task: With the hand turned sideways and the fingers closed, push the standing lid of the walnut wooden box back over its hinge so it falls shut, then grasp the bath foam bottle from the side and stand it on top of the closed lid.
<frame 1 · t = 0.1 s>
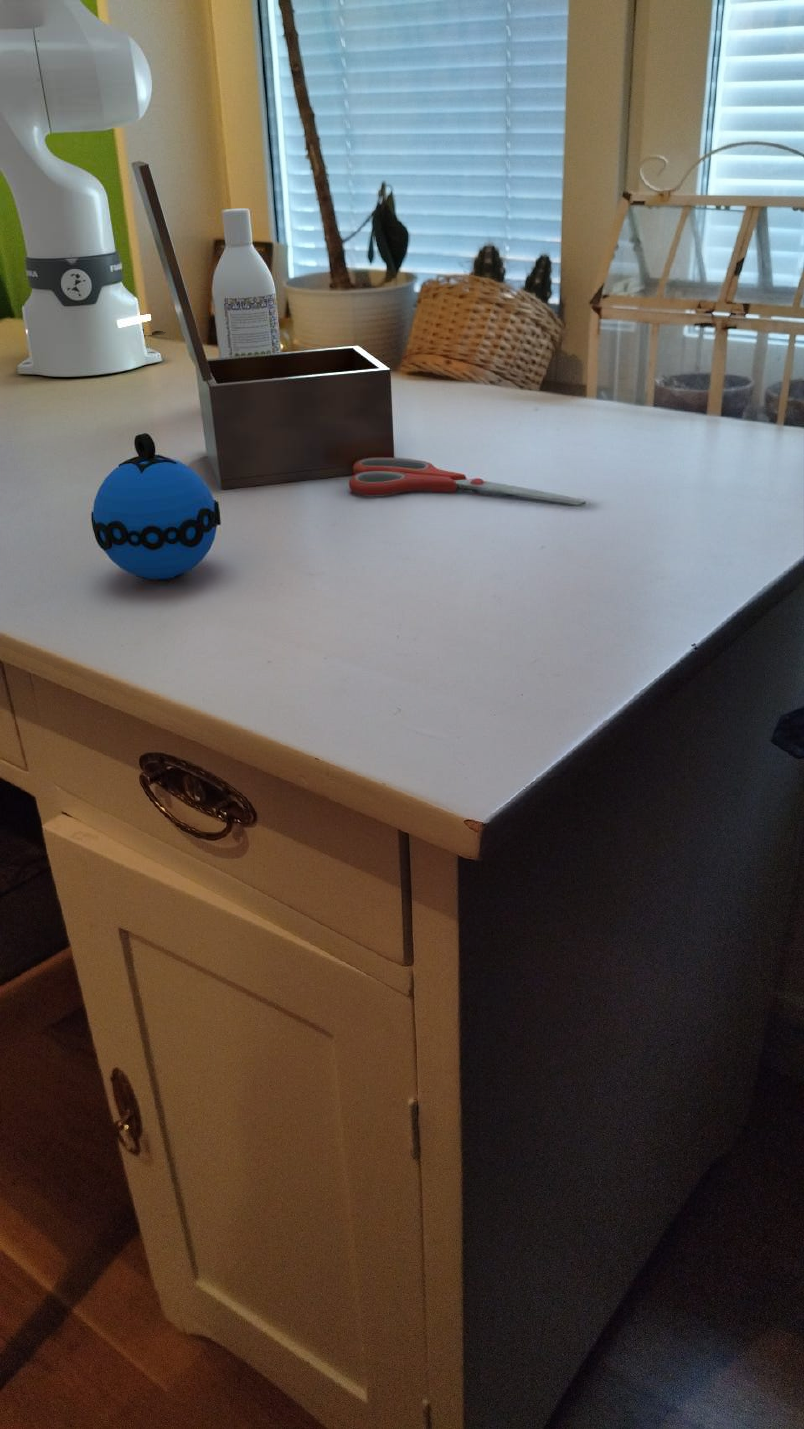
ornament: (165, 579, 77), on the table
scissors: (466, 490, 93), on the table
bath foam: (255, 402, 127), on the table
lid: (171, 269, 92), point 17 cm above the table, hinge at 100.0°
chest: (297, 461, 102), on the table
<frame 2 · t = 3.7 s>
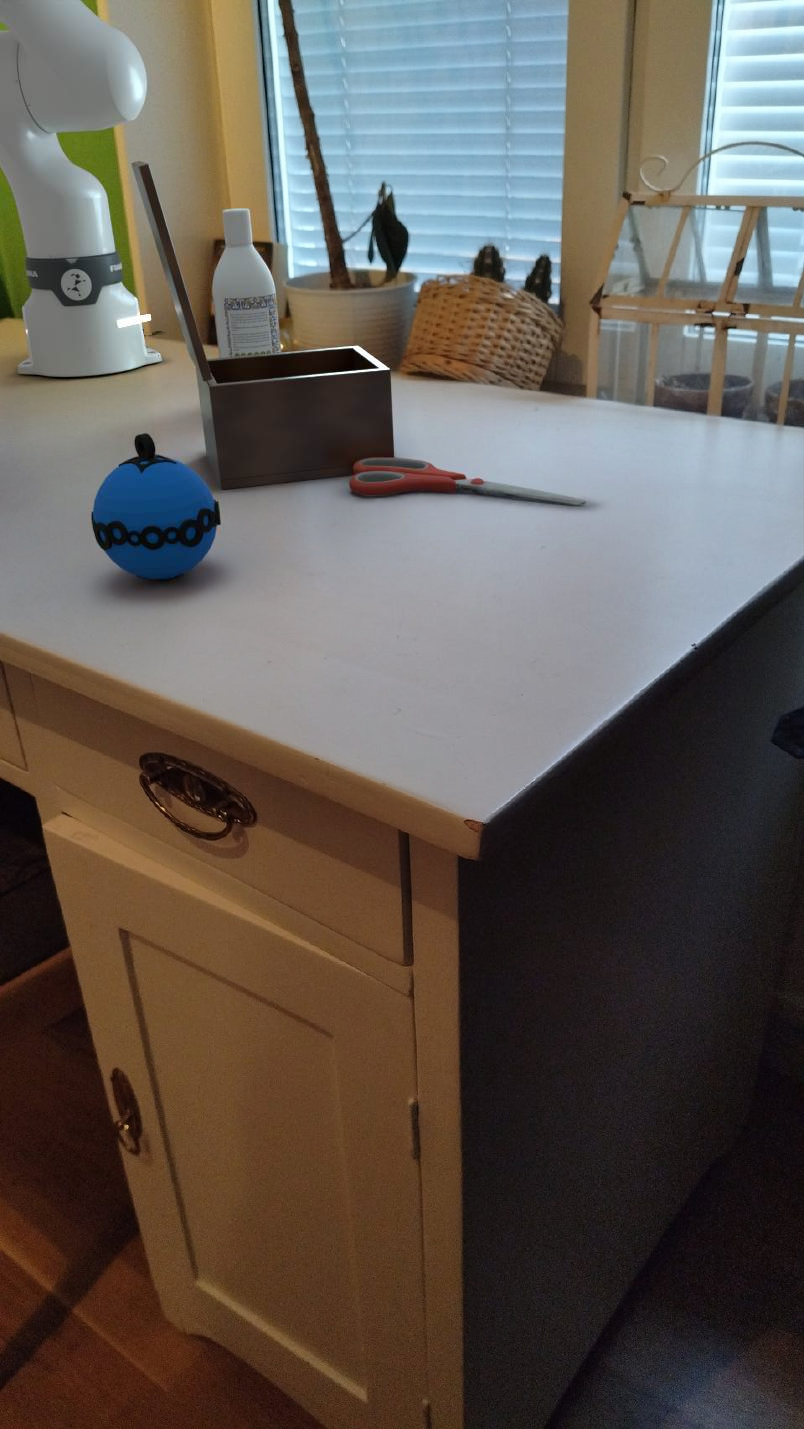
nothing on the table moved.
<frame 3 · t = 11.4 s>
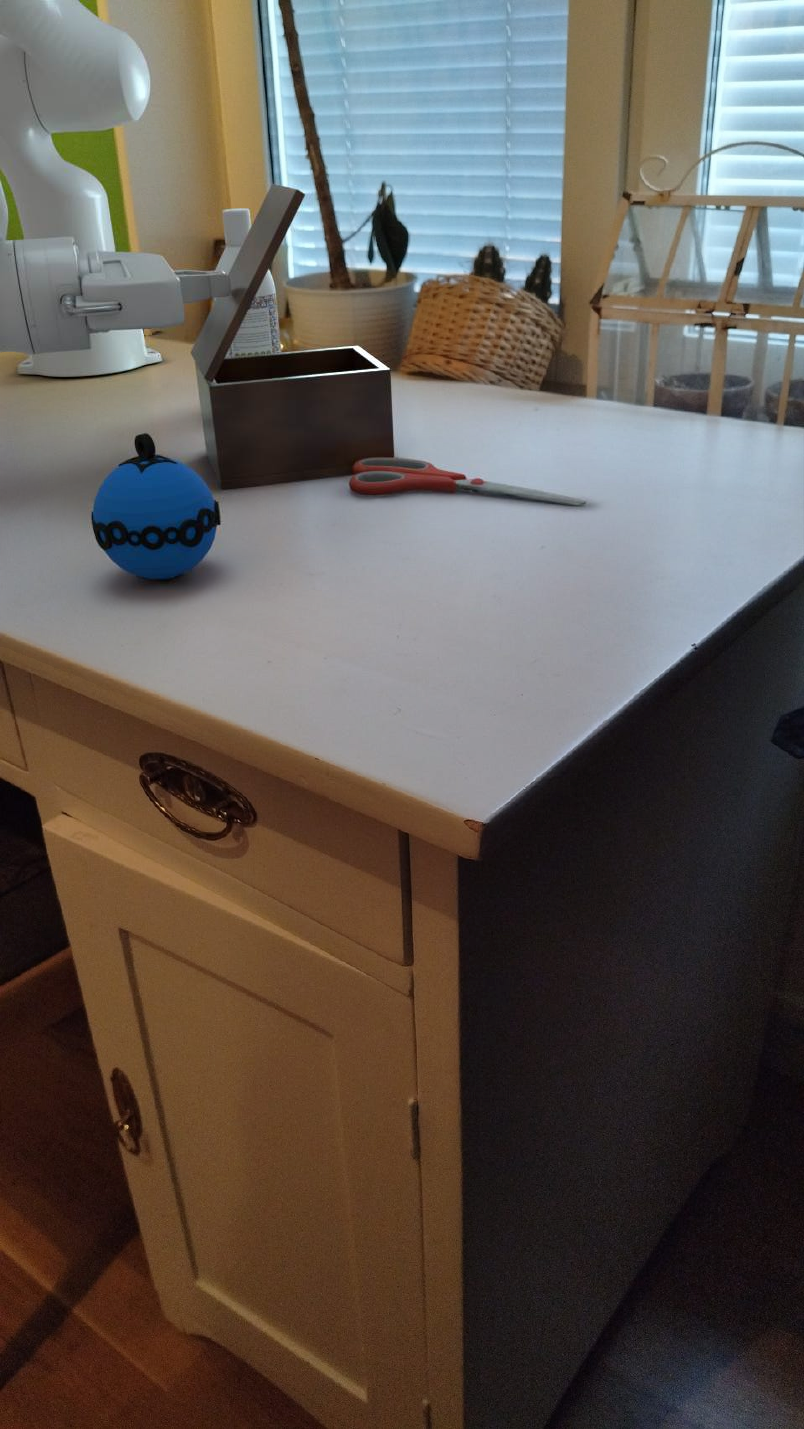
hand: (228, 283, 94), 16 cm above the table, tool horizontal, fingers closed
lid: (243, 280, 94), point 16 cm above the table, hinge at 56.6°
everything else where it was.
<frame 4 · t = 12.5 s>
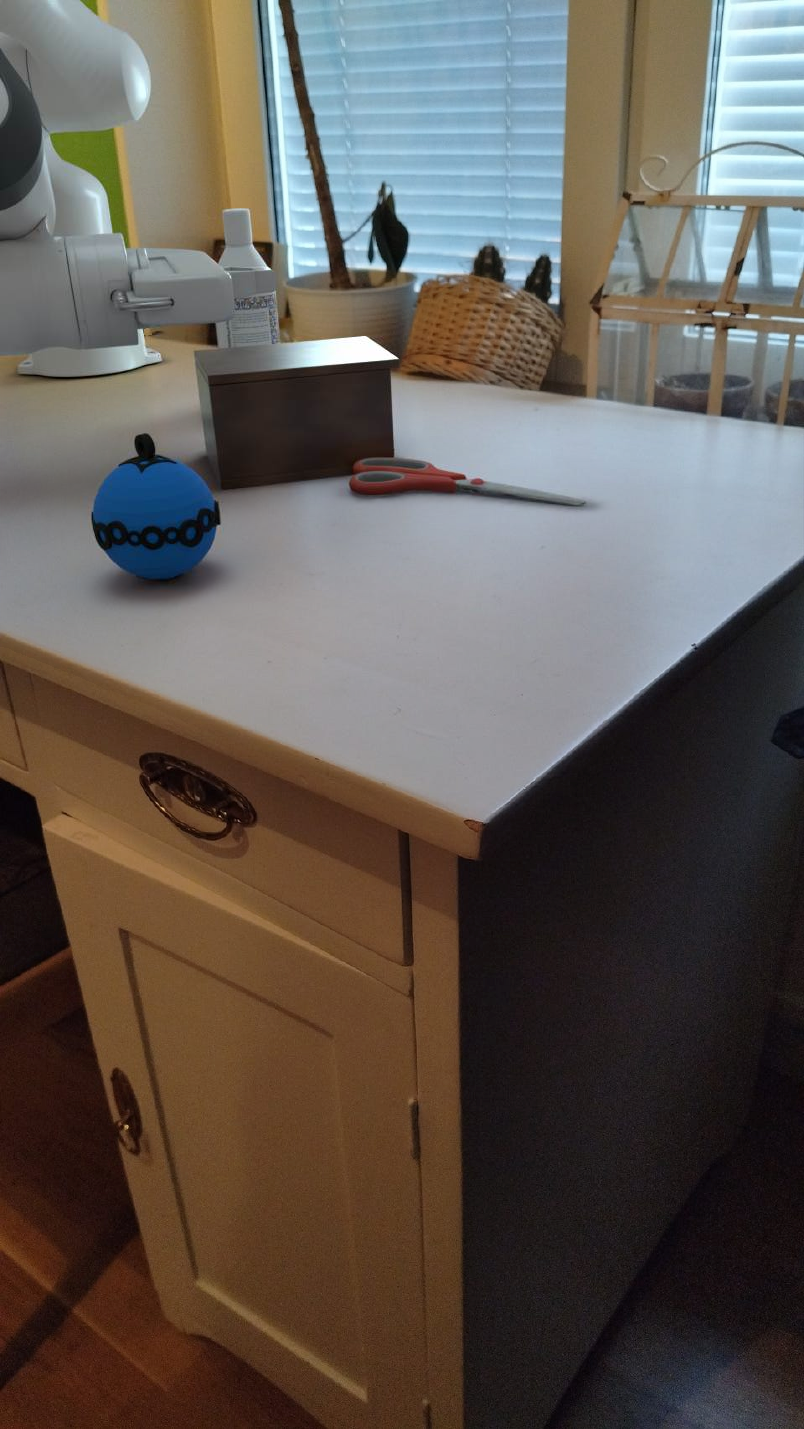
hand: (274, 279, 95), 16 cm above the table, tool horizontal, fingers closed
lid: (292, 359, 98), point 9 cm above the table, hinge at -0.1°
everything else where it was.
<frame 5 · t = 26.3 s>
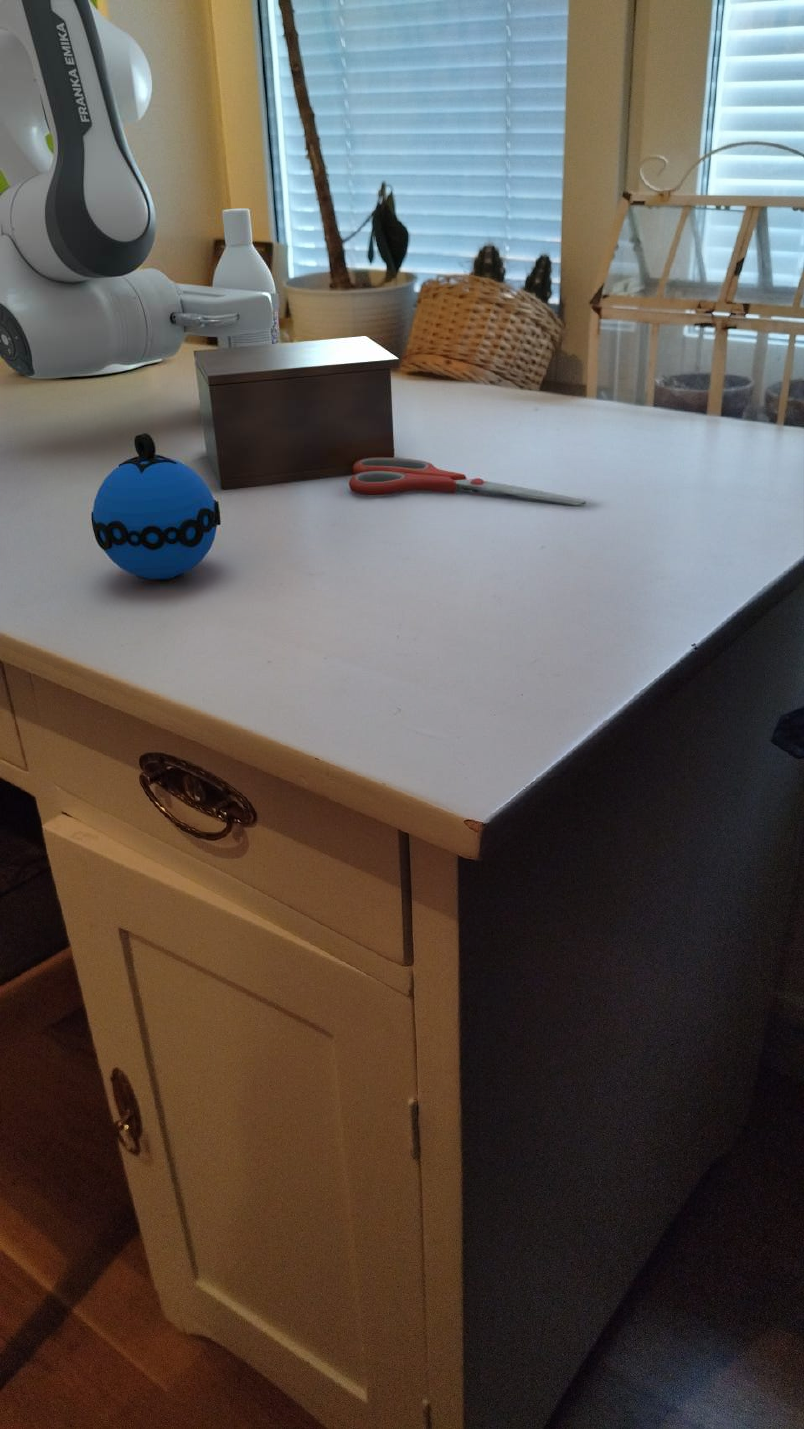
hand: (250, 298, 122), 11 cm above the table, tool horizontal, fingers closed on bath foam, 7 cm apart
bath foam: (255, 402, 127), on the table, touching gripper
everything else where it was.
when the fingers open (21 cm above the table, at t = 35.1 s): bath foam stays where it is, resting on lid.
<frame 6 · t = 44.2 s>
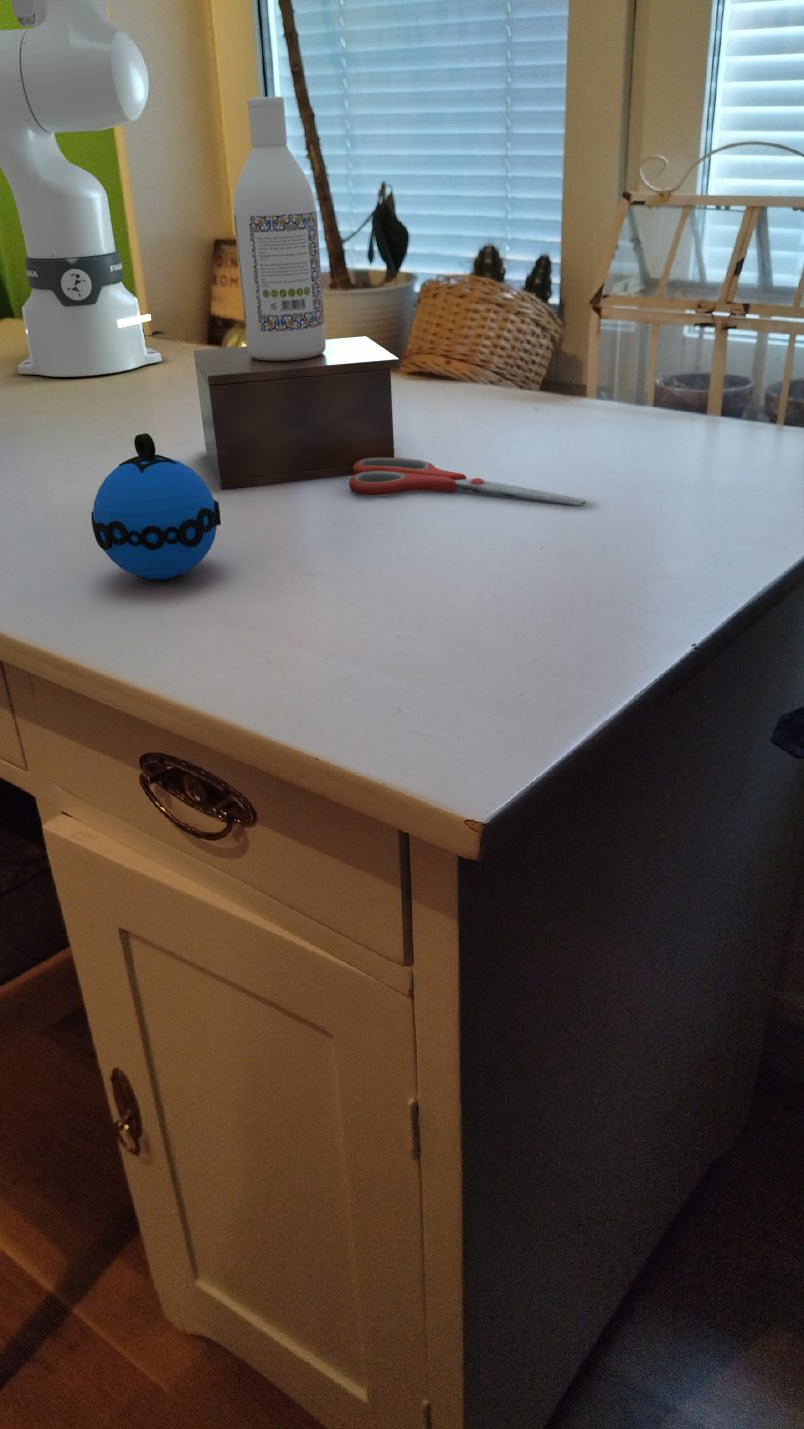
hand: (26, 21, 102), 37 cm above the table, tool pointing down, fingers open, 8 cm apart
bath foam: (287, 357, 98), point 9 cm above the table, touching lid
lid: (292, 359, 98), point 9 cm above the table, hinge at -0.2°, touching bath foam, chest
everything else where it was.
at the end: lid at +0° (first picture: +100°); bath foam inside the target area on the chest (0.1 cm from its centre), point 9.4 cm above the chest's base; bath foam tilted 0° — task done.
